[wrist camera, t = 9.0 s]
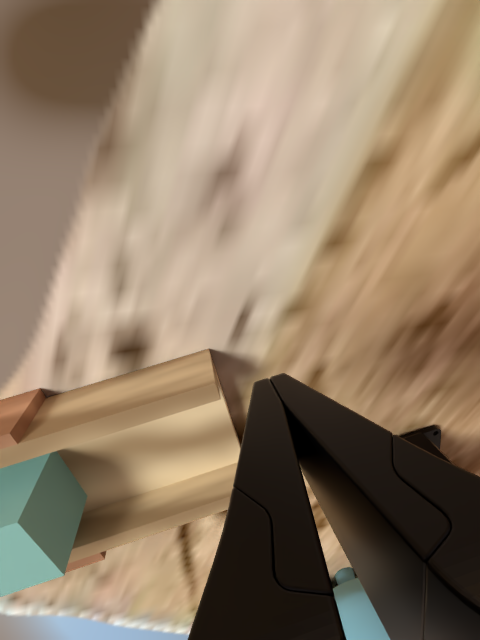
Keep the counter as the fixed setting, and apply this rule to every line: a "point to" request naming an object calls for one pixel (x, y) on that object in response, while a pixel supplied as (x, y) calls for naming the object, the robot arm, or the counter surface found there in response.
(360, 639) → the teapot
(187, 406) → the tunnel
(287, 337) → the counter surface
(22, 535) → the block
